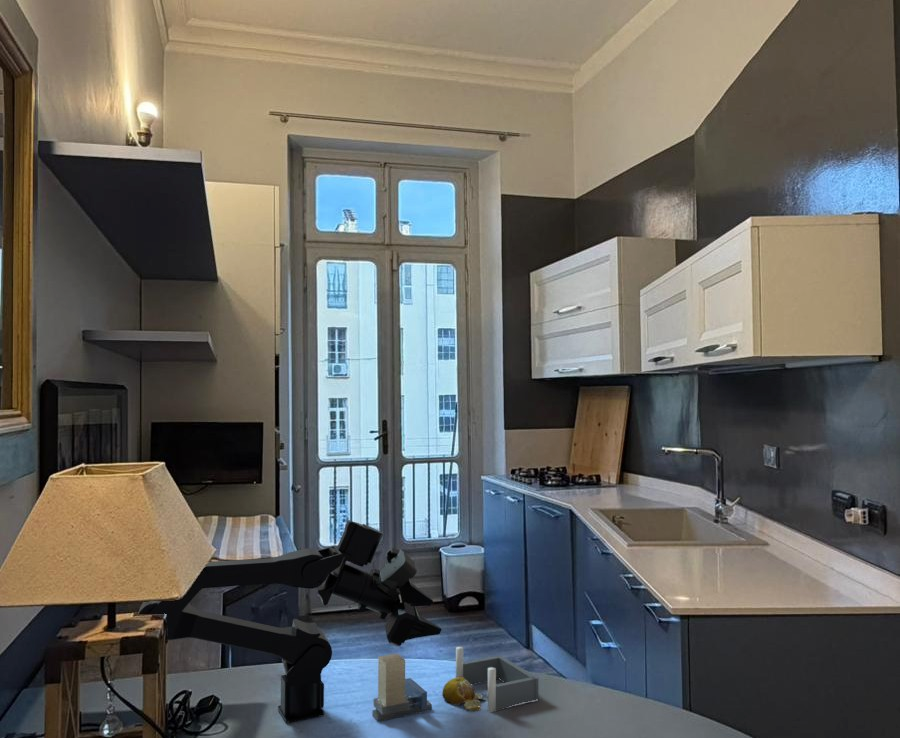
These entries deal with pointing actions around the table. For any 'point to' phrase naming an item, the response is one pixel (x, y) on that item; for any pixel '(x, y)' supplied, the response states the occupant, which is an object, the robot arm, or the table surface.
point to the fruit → (461, 693)
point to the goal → (516, 679)
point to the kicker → (396, 687)
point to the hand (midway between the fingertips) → (436, 616)
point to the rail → (400, 712)
